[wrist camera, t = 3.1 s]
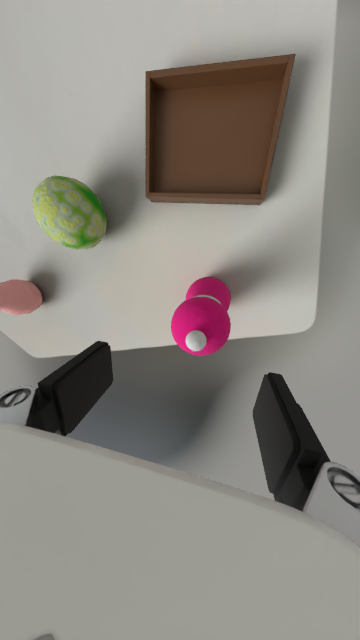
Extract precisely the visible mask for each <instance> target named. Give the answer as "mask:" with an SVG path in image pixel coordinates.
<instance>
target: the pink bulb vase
mask: <svg viewBox="0 0 360 640" xmlns="http://www.w3.org/2000/svg"><path fill="white" fill-rule="evenodd" d="M41 304H42V295H41V293H40V291H39V289H38V288H37V287H36V286H35V285H34V284H33V283H31V282H28V281H23V280H9V281H6V282H2V283H0V310H2V311H5V312H7V313H10V314H13V315H21V314H29V313H31V312H33V311H34V310H36V309H37V308H39V307H40V306H41Z"/></svg>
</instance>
